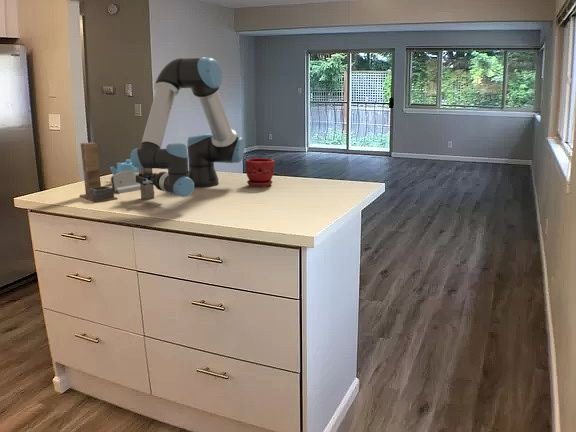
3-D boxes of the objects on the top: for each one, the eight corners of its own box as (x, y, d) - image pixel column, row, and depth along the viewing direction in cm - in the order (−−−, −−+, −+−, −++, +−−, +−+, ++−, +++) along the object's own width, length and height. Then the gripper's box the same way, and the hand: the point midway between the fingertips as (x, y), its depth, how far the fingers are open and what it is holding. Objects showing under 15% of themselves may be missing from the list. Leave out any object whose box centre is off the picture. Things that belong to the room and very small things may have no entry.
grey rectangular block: (154, 198, 238) (151, 159, 234) (145, 199, 235) (142, 160, 232) (149, 196, 241) (147, 159, 237) (141, 198, 238) (138, 160, 235)
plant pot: (269, 188, 254) (268, 161, 251) (241, 187, 258) (240, 160, 255) (278, 183, 266) (278, 157, 263) (252, 182, 270) (251, 157, 267)
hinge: (118, 193, 248) (112, 171, 248) (113, 196, 251) (106, 174, 251) (150, 187, 260) (144, 166, 260) (145, 190, 263) (139, 169, 263)
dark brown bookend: (117, 199, 237) (112, 144, 232) (95, 202, 231) (89, 146, 226) (101, 193, 250) (96, 141, 244) (79, 196, 244) (74, 143, 238)
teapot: (143, 184, 271) (141, 161, 268) (111, 184, 270) (109, 162, 267) (148, 178, 285) (147, 157, 283) (118, 179, 284) (116, 157, 282)
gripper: (147, 194, 218) (121, 186, 236) (186, 188, 229) (159, 181, 246) (146, 175, 216) (120, 168, 234) (185, 170, 227) (158, 164, 244)
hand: (140, 175), depth 240 cm, fingers closed on grey rectangular block, 4 cm apart
